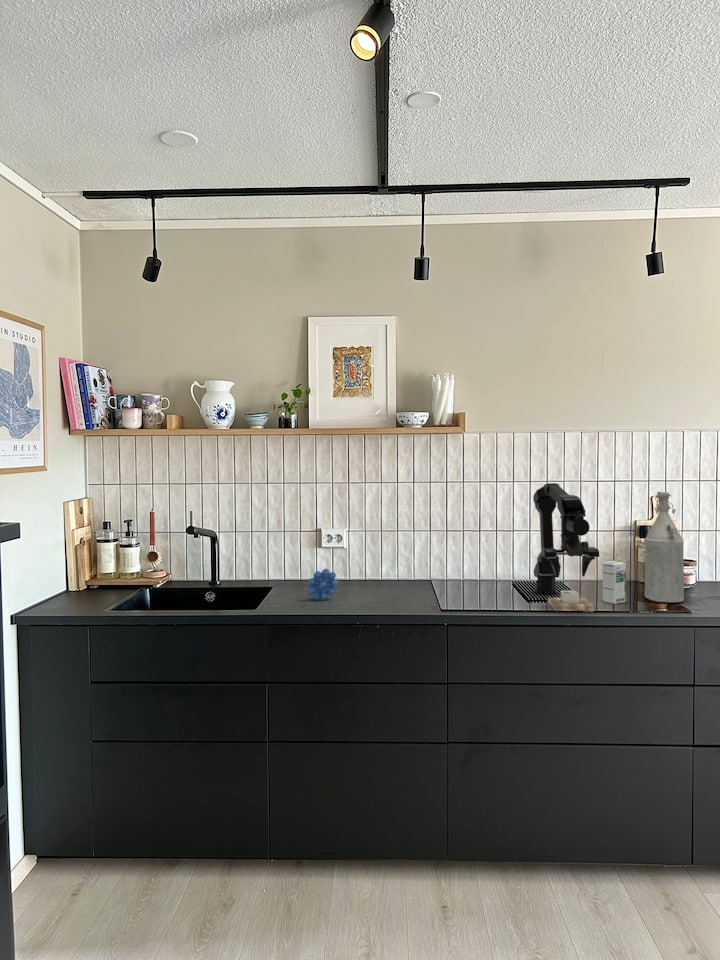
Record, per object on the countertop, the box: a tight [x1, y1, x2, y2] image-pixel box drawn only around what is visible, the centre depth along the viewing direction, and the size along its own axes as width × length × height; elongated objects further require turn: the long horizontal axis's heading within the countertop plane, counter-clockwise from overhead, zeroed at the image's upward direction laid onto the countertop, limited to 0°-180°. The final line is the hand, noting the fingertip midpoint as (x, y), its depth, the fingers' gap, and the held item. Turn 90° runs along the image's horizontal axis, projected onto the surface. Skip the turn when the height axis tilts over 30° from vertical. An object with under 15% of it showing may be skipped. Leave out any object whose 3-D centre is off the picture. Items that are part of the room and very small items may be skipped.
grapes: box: [307, 568, 339, 601], centre depth 241 cm, size 12×7×12 cm, turn 96°
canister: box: [644, 491, 685, 603], centre depth 232 cm, size 13×17×40 cm
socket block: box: [547, 597, 595, 613], centre depth 222 cm, size 12×12×2 cm
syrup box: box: [601, 560, 627, 605], centre depth 230 cm, size 6×6×14 cm
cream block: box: [560, 590, 580, 604], centre depth 222 cm, size 5×5×6 cm
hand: (570, 576), depth 222 cm, fingers open, 9 cm apart
